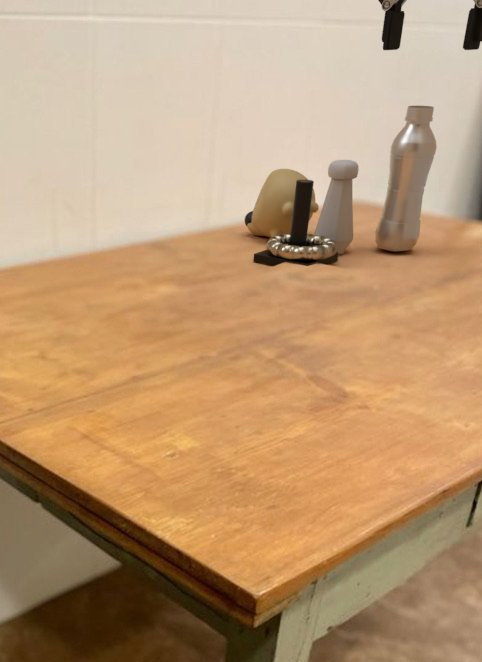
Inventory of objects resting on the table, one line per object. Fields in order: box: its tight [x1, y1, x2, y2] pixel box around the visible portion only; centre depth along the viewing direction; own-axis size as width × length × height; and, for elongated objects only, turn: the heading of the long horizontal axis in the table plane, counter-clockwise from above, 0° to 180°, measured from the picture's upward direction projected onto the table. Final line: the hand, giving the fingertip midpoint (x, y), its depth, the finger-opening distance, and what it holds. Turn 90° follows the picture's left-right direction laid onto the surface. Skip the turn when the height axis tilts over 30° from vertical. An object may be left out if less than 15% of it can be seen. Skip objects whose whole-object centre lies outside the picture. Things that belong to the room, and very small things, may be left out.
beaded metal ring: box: [265, 233, 336, 261], centre depth 119 cm, size 10×10×2 cm
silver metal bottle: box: [375, 105, 438, 253], centre depth 121 cm, size 6×7×20 cm
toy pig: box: [244, 168, 320, 239], centre depth 131 cm, size 10×12×11 cm
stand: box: [252, 179, 340, 267], centre depth 118 cm, size 9×9×11 cm
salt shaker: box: [313, 159, 359, 255], centre depth 122 cm, size 6×6×13 cm
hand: (429, 49), depth 96 cm, fingers open, 9 cm apart
